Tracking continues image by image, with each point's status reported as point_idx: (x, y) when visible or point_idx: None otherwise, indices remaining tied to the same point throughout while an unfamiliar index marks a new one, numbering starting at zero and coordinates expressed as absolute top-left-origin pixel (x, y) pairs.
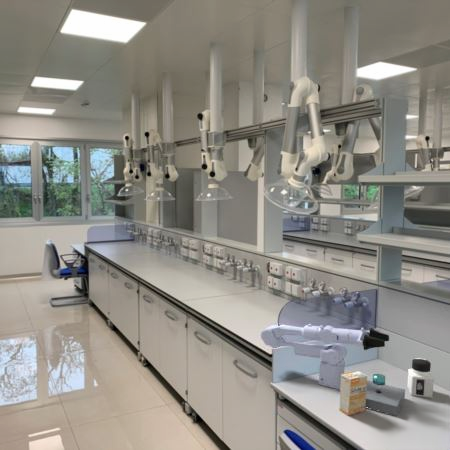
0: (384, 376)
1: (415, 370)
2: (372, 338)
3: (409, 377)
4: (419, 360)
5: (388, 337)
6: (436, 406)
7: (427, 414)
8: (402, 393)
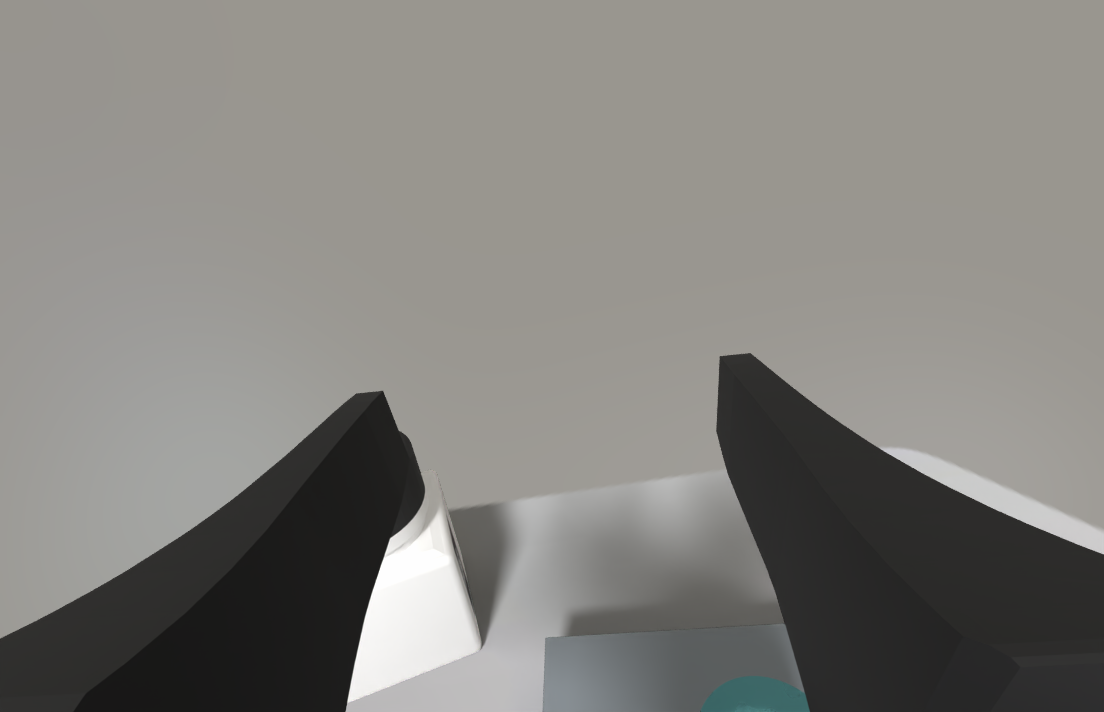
0: (728, 692)
1: (408, 525)
2: (912, 471)
3: (376, 622)
4: None
5: (392, 417)
6: (556, 523)
7: (681, 536)
8: (628, 637)
